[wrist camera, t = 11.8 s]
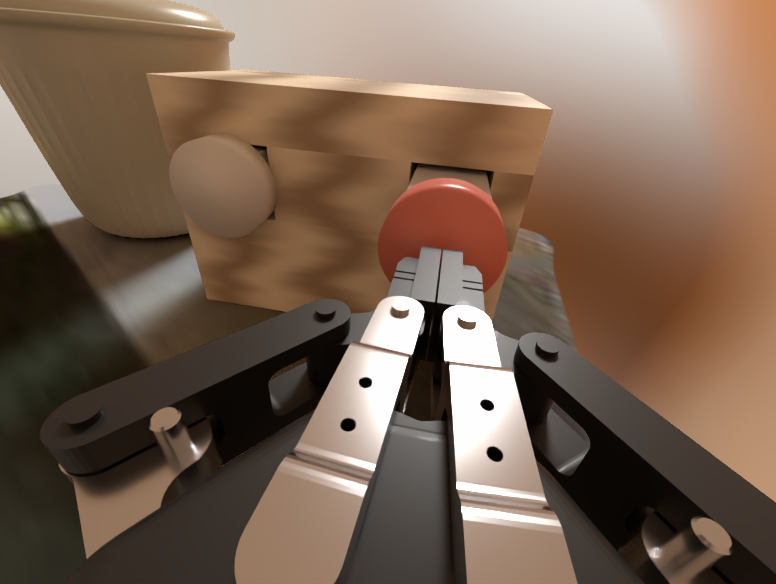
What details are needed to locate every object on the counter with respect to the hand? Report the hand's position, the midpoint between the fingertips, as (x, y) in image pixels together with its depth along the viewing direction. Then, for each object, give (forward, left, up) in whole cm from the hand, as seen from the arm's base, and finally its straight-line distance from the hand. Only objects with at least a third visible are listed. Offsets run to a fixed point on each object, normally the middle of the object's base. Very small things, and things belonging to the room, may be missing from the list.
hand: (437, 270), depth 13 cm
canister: (-28, +19, -9) cm, 35 cm away
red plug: (0, +6, -3) cm, 6 cm away
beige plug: (-12, +9, -3) cm, 15 cm away
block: (-6, +12, -9) cm, 16 cm away
